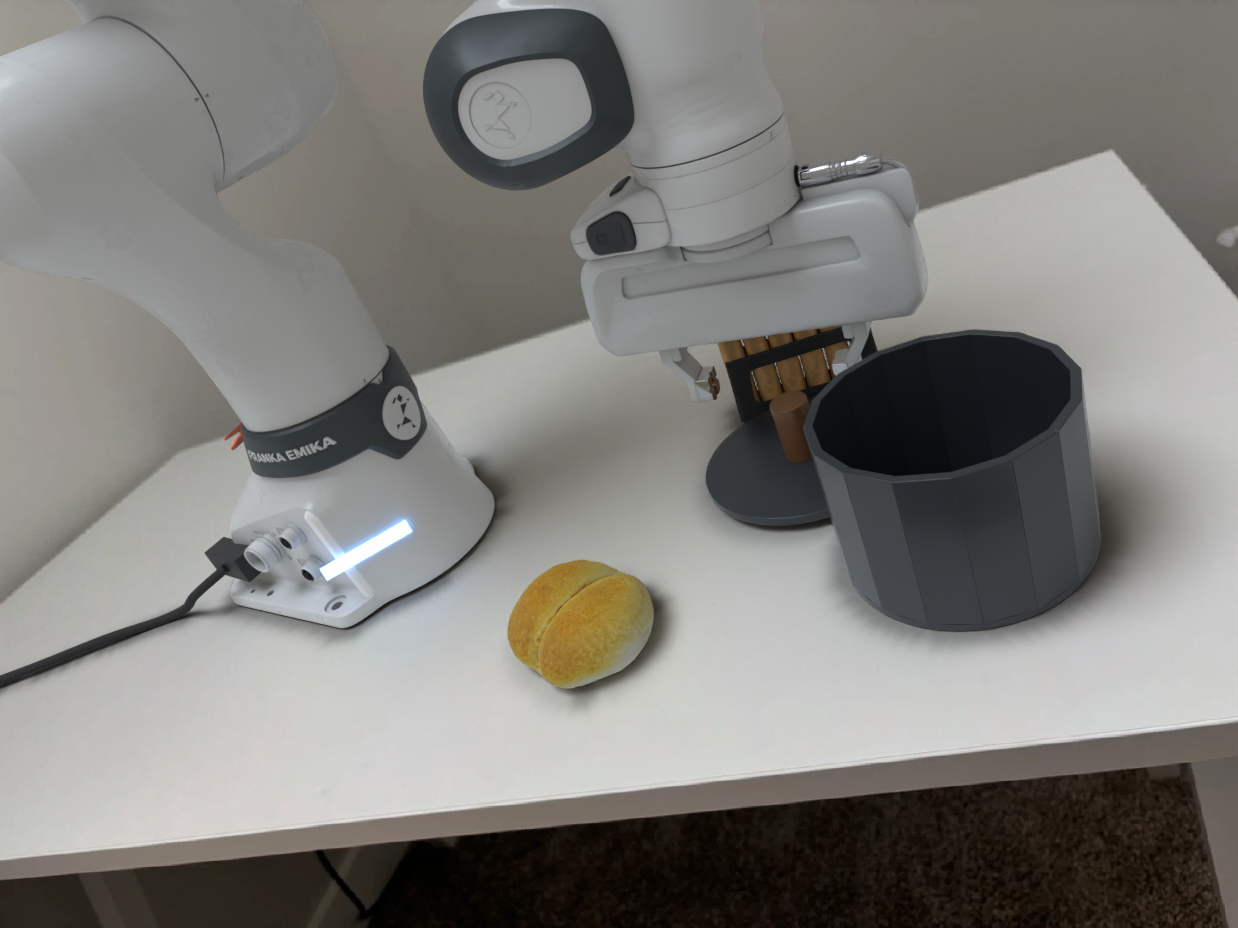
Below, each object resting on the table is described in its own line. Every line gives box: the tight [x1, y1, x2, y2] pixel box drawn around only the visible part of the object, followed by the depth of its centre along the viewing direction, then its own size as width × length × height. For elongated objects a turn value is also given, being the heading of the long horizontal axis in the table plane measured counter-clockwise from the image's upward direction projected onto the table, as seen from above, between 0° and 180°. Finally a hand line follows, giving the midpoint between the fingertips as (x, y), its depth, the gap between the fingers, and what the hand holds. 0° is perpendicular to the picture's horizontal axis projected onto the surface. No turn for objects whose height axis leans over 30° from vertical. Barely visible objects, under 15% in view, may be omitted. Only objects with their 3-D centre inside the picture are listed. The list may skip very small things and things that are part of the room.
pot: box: [803, 328, 1102, 632], centre depth 49 cm, size 13×13×10 cm
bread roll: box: [507, 559, 655, 690], centre depth 55 cm, size 8×9×4 cm
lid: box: [705, 391, 830, 527], centre depth 61 cm, size 13×13×5 cm
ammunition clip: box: [716, 325, 879, 424], centre depth 67 cm, size 11×2×12 cm, turn 89°
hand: (777, 388), depth 61 cm, fingers open, 8 cm apart
